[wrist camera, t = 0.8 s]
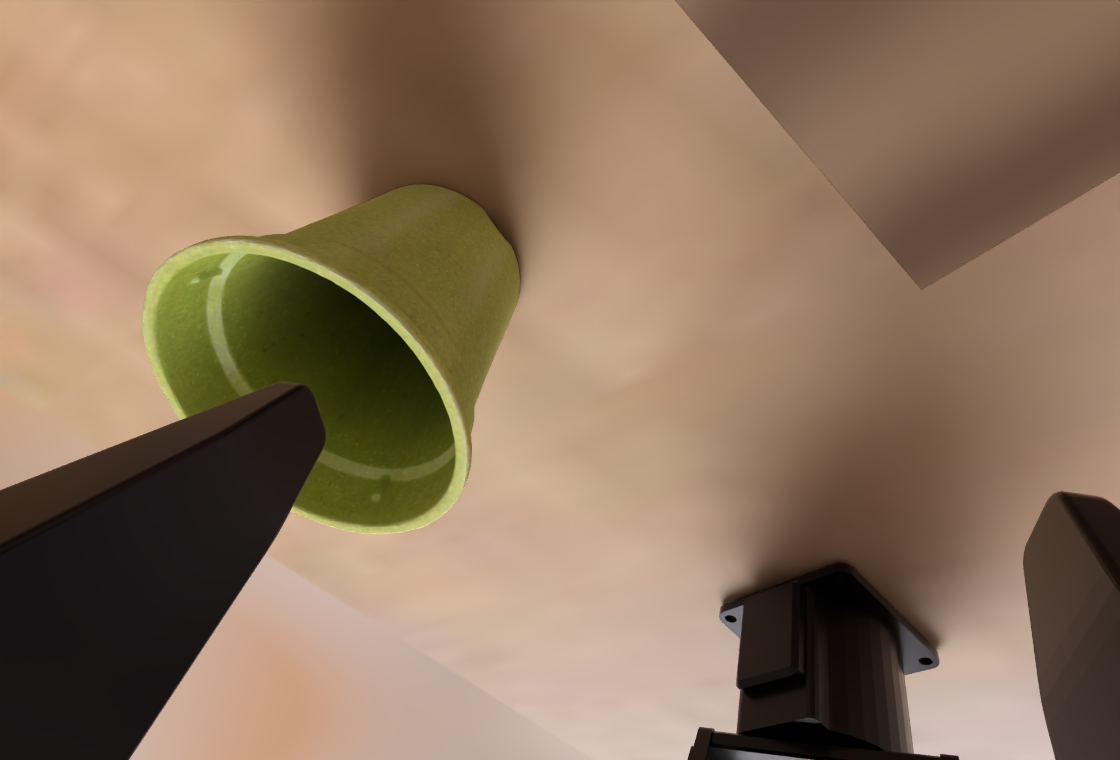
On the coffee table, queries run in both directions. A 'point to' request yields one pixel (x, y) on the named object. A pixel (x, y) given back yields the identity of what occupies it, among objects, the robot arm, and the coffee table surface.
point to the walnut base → (936, 108)
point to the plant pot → (349, 343)
